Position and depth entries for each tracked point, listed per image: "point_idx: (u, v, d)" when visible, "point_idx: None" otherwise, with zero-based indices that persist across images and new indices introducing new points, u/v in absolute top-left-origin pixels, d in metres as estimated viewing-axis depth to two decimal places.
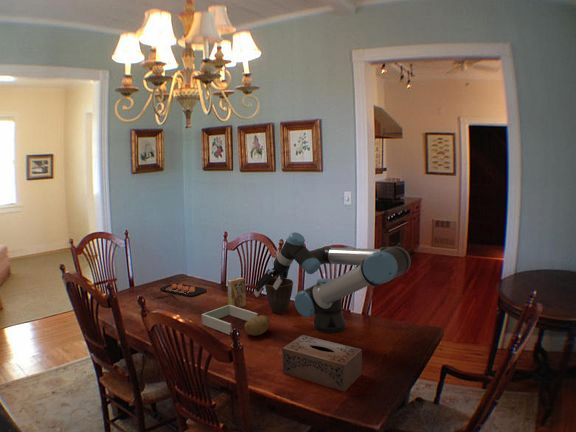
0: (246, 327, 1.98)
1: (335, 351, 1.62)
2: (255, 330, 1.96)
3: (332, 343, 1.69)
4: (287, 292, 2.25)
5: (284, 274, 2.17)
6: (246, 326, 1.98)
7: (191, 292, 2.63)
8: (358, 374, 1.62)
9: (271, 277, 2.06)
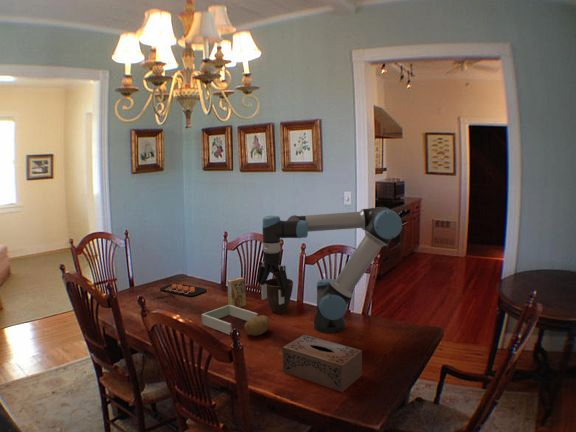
0: (246, 327, 1.98)
1: (335, 351, 1.61)
2: (255, 330, 1.96)
3: (333, 343, 1.68)
4: (287, 292, 2.25)
5: (261, 276, 1.97)
6: (246, 326, 1.98)
7: (191, 292, 2.63)
8: (358, 375, 1.61)
9: (280, 273, 1.91)
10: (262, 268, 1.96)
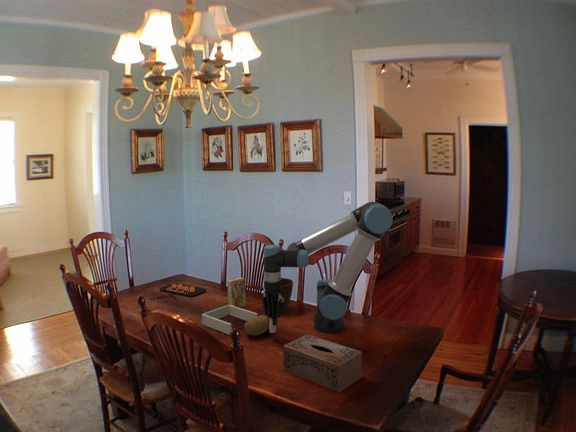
0: (246, 327, 1.98)
1: (334, 352, 1.61)
2: (255, 330, 1.96)
3: (334, 344, 1.68)
4: (287, 292, 2.25)
5: (267, 308, 1.97)
6: (246, 326, 1.98)
7: (191, 292, 2.63)
8: (357, 376, 1.60)
9: (277, 302, 1.94)
10: (265, 298, 1.96)
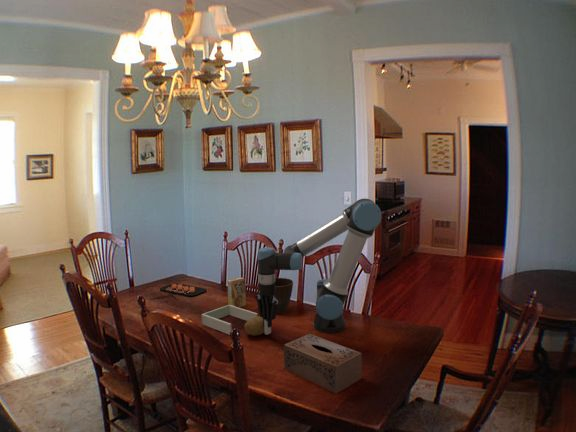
0: (246, 327, 1.98)
1: (334, 352, 1.61)
2: (255, 330, 1.96)
3: (334, 344, 1.67)
4: (287, 292, 2.25)
5: None
6: (246, 326, 1.98)
7: (191, 292, 2.63)
8: (356, 378, 1.59)
9: (272, 304, 1.96)
10: (260, 301, 1.99)
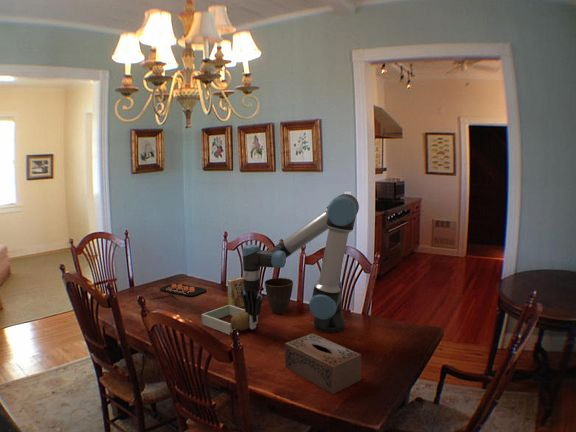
0: (232, 321, 2.04)
1: (333, 353, 1.60)
2: (240, 325, 2.03)
3: (335, 345, 1.67)
4: (287, 292, 2.25)
5: None
6: (232, 321, 2.04)
7: (191, 292, 2.63)
8: (355, 379, 1.58)
9: (256, 300, 2.02)
10: (245, 296, 2.05)
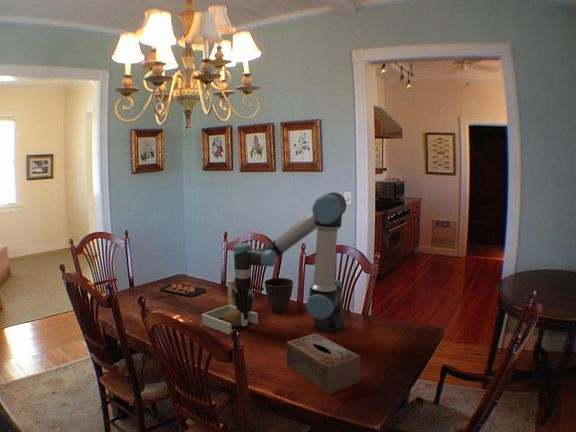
0: (223, 318, 2.09)
1: (332, 353, 1.60)
2: (232, 321, 2.07)
3: (336, 345, 1.67)
4: (287, 292, 2.25)
5: None
6: (223, 318, 2.09)
7: (191, 292, 2.63)
8: (354, 381, 1.57)
9: (247, 298, 2.06)
10: (237, 294, 2.09)
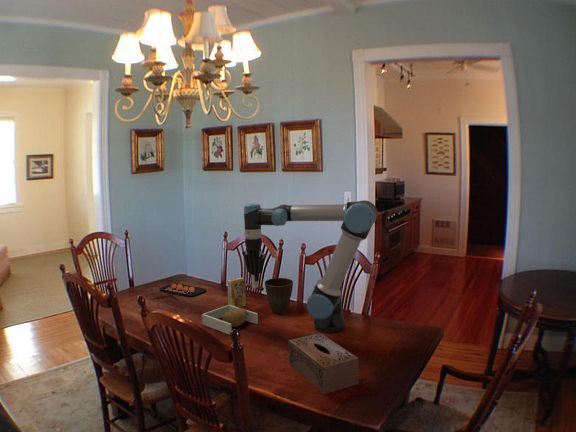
0: (223, 318, 2.09)
1: (331, 353, 1.60)
2: (232, 321, 2.07)
3: (337, 346, 1.66)
4: (287, 292, 2.25)
5: (249, 265, 2.05)
6: (223, 318, 2.09)
7: (191, 292, 2.63)
8: (351, 382, 1.56)
9: (258, 259, 2.02)
10: (247, 256, 2.05)
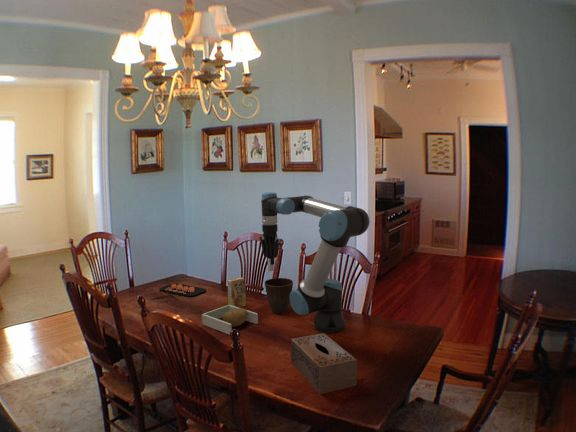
0: (223, 318, 2.09)
1: (330, 354, 1.59)
2: (232, 321, 2.07)
3: (338, 347, 1.65)
4: (287, 292, 2.25)
5: None
6: (223, 318, 2.09)
7: (191, 292, 2.63)
8: (349, 384, 1.55)
9: (274, 244, 2.17)
10: (263, 241, 2.20)
